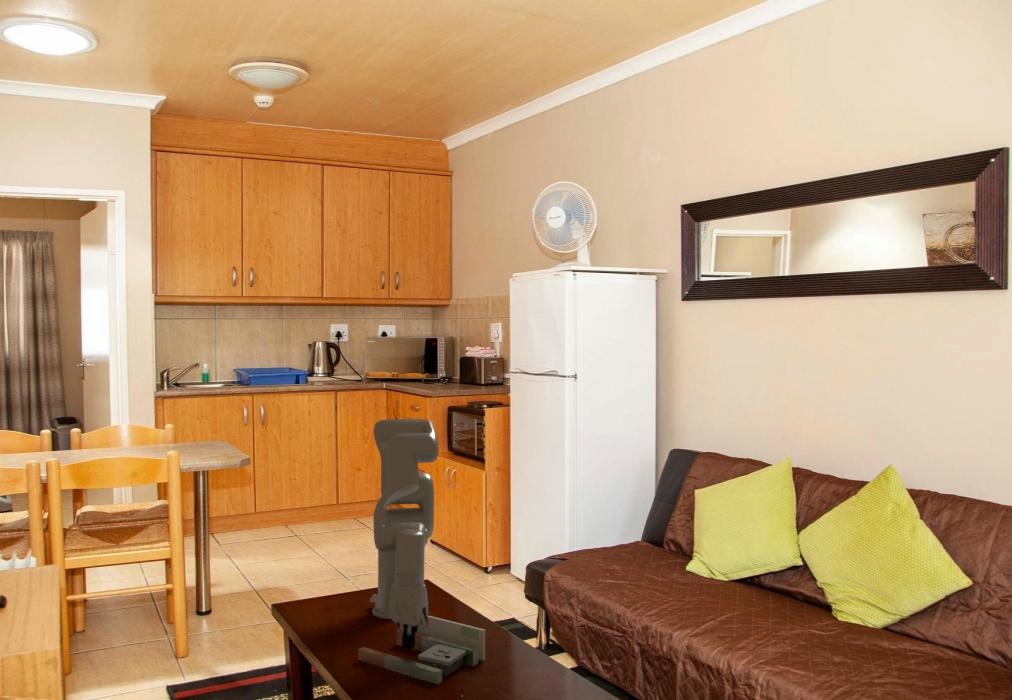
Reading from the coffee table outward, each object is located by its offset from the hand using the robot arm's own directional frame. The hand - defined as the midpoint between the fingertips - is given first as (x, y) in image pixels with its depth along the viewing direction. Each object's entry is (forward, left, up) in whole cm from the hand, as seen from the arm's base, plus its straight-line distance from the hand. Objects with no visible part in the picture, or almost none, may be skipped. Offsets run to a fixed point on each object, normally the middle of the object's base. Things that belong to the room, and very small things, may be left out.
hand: (408, 647), depth 224 cm
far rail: (+4, +7, -3) cm, 8 cm away
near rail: (+4, -8, -3) cm, 9 cm away
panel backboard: (+4, +10, -3) cm, 11 cm away
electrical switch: (+15, +1, -2) cm, 15 cm away
